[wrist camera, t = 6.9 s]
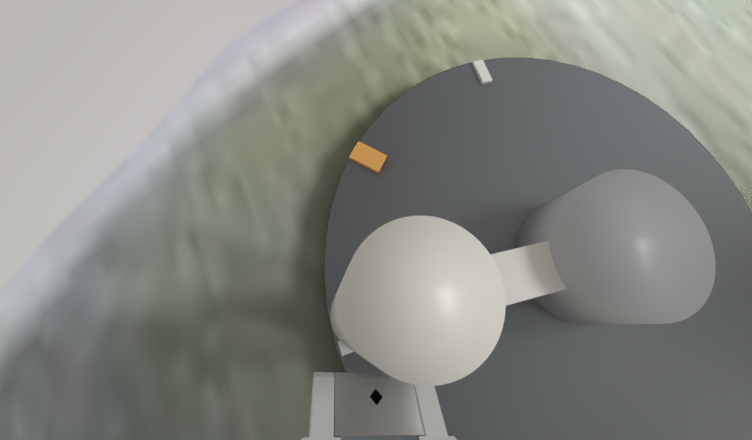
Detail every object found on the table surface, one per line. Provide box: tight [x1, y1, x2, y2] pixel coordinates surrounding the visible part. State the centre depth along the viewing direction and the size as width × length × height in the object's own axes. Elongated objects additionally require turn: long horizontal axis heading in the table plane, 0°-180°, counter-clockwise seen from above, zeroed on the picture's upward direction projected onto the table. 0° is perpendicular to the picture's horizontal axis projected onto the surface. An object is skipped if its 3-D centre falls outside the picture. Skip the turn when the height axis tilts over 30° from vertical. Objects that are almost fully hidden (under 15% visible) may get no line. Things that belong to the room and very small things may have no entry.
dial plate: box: [324, 58, 752, 440], centre depth 18 cm, size 24×24×2 cm
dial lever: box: [330, 169, 716, 386], centre depth 12 cm, size 15×6×9 cm, turn 104°
